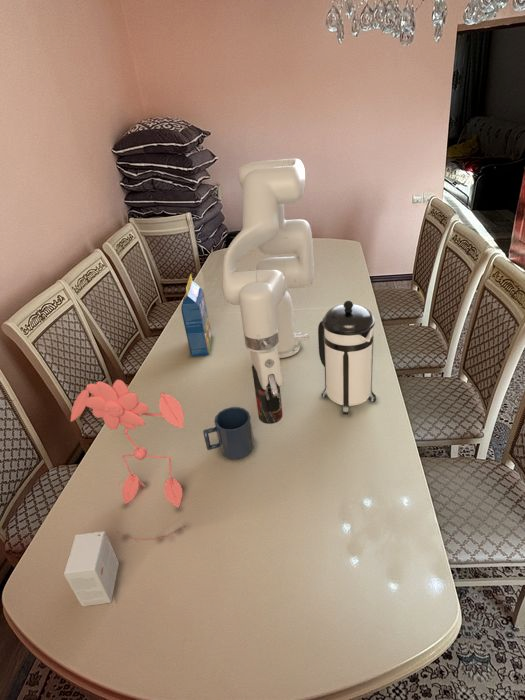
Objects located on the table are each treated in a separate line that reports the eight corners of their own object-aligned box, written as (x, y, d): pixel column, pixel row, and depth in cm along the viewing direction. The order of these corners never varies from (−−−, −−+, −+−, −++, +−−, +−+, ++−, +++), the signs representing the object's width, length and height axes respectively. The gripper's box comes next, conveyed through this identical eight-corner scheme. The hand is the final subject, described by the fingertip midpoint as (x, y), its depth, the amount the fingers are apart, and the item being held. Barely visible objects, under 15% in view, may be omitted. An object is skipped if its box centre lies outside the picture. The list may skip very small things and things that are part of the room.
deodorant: (280, 424, 108) (275, 373, 101) (256, 423, 110) (249, 372, 102) (284, 408, 113) (279, 359, 105) (261, 407, 115) (254, 358, 107)
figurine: (113, 479, 108) (66, 357, 90) (215, 490, 102) (186, 362, 84) (78, 534, 96) (14, 405, 78) (191, 551, 90) (151, 415, 71)
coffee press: (379, 383, 130) (383, 287, 114) (371, 419, 117) (375, 317, 101) (320, 376, 135) (316, 284, 120) (307, 410, 123) (301, 312, 107)
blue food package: (190, 356, 152) (175, 289, 139) (195, 338, 163) (181, 274, 150) (209, 355, 152) (196, 287, 139) (212, 337, 162) (200, 272, 149)
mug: (249, 432, 118) (245, 403, 113) (258, 454, 111) (254, 424, 106) (205, 444, 116) (198, 415, 111) (211, 467, 108) (205, 438, 103)
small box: (91, 567, 89) (74, 533, 83) (120, 563, 89) (105, 529, 84) (81, 608, 82) (61, 574, 77) (111, 603, 82) (94, 570, 77)
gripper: (290, 353, 93) (295, 419, 103) (266, 317, 108) (273, 379, 117) (255, 361, 92) (264, 428, 101) (236, 324, 106) (245, 386, 116)
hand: (269, 401), depth 109 cm, fingers closed on deodorant, 5 cm apart
